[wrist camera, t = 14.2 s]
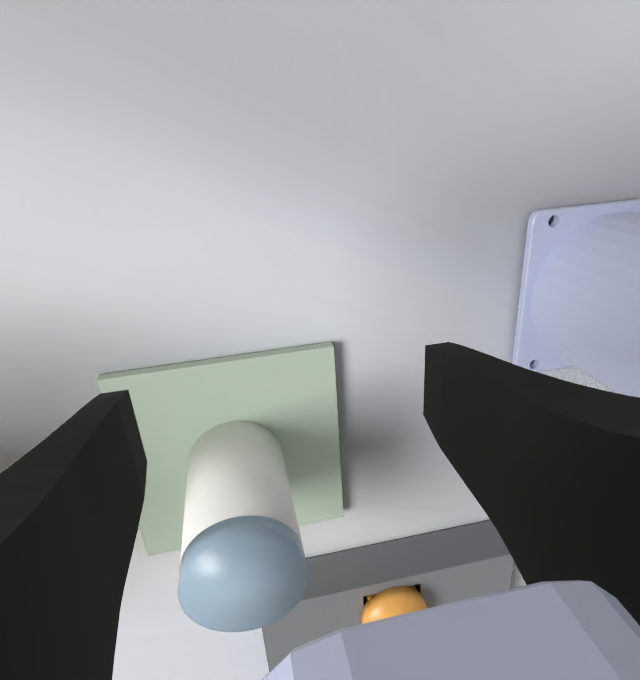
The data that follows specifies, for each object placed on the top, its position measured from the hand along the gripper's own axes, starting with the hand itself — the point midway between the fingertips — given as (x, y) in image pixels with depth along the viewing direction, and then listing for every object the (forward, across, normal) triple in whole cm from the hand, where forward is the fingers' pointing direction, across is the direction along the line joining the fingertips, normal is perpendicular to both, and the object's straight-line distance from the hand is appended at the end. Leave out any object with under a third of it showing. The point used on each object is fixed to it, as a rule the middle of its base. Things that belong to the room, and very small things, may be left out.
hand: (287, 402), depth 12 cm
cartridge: (+9, +2, +8) cm, 12 cm away
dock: (+9, -5, +22) cm, 24 cm away
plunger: (+9, -5, +18) cm, 21 cm away
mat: (+9, +2, +8) cm, 13 cm away
